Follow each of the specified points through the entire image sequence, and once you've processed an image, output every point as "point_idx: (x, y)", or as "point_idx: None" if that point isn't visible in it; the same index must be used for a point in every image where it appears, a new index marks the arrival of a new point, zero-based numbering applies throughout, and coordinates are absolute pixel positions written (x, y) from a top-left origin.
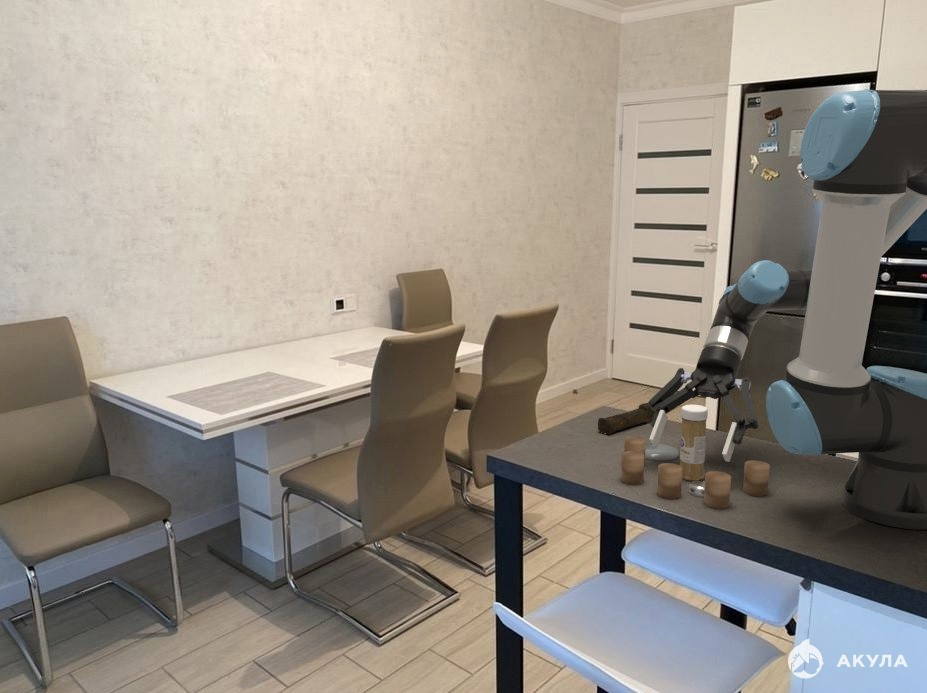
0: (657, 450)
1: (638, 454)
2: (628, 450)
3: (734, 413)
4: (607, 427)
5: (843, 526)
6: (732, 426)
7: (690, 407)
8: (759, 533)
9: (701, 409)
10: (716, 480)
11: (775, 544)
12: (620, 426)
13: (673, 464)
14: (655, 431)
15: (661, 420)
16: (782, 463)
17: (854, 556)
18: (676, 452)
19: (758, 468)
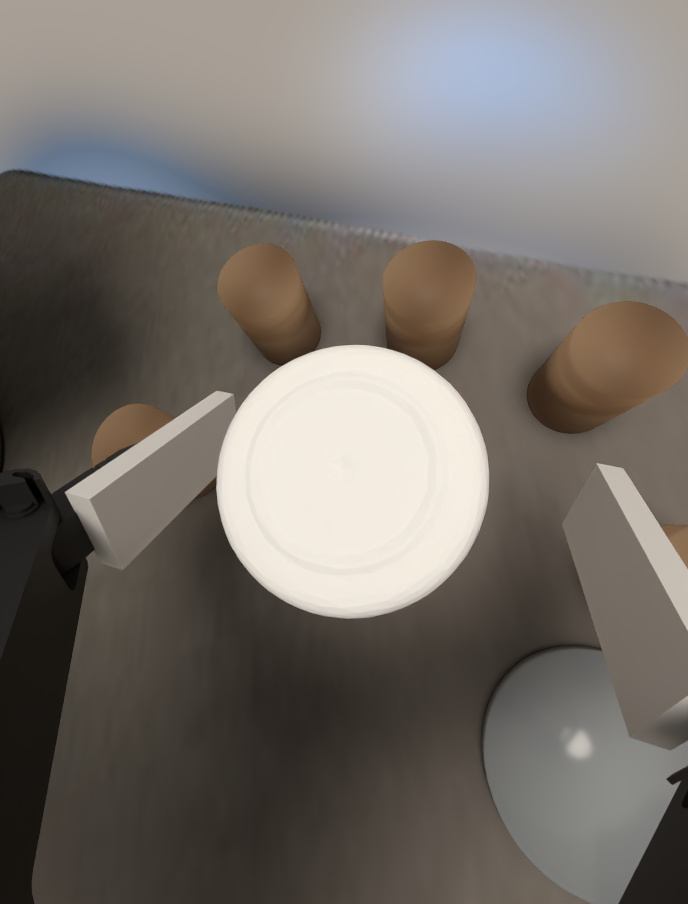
0: (591, 774)
1: (605, 362)
2: None
3: (18, 566)
4: None
5: (34, 341)
6: (109, 474)
7: (386, 452)
8: (195, 230)
9: (265, 419)
10: (260, 244)
11: (169, 201)
12: None
13: (423, 311)
14: (620, 500)
15: (647, 597)
16: (93, 790)
17: (48, 224)
18: (495, 770)
19: (129, 405)
